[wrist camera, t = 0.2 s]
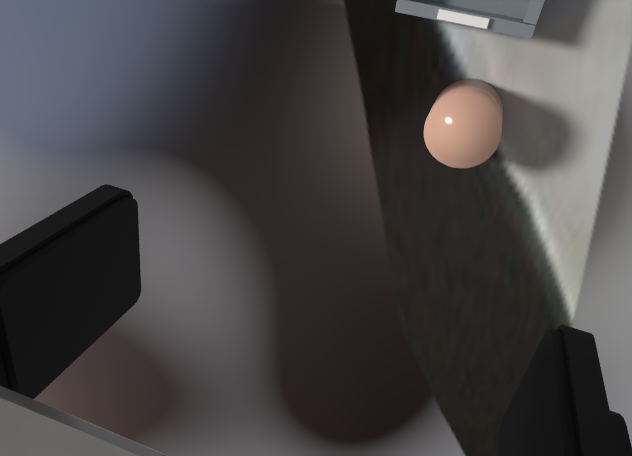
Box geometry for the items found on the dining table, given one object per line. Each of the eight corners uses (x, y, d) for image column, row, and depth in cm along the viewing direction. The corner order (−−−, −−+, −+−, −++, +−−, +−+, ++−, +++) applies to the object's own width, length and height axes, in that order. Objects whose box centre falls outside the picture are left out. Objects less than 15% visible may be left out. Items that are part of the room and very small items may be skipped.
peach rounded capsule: (443, 71, 38) (434, 86, 33) (512, 87, 37) (512, 105, 32) (426, 135, 40) (415, 157, 36) (490, 152, 39) (487, 176, 35)
